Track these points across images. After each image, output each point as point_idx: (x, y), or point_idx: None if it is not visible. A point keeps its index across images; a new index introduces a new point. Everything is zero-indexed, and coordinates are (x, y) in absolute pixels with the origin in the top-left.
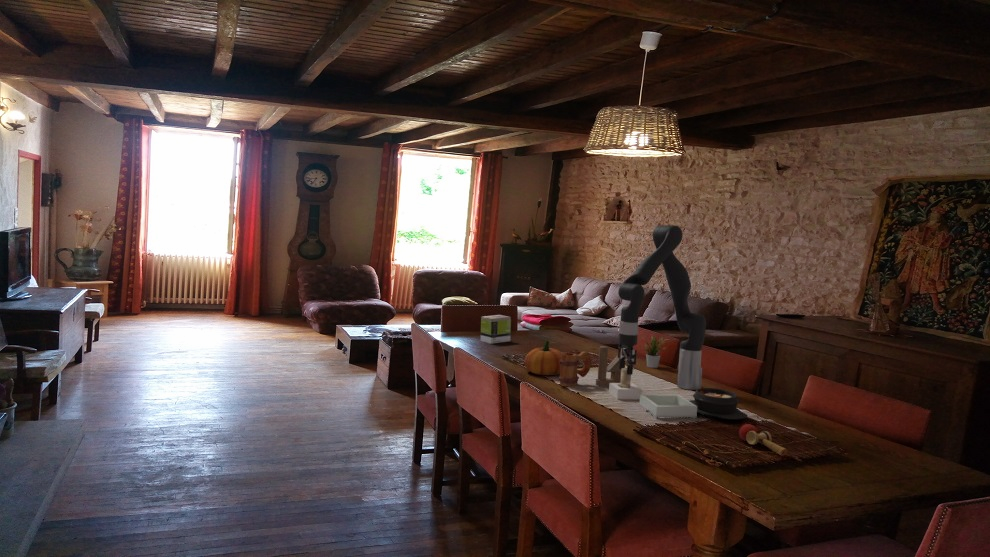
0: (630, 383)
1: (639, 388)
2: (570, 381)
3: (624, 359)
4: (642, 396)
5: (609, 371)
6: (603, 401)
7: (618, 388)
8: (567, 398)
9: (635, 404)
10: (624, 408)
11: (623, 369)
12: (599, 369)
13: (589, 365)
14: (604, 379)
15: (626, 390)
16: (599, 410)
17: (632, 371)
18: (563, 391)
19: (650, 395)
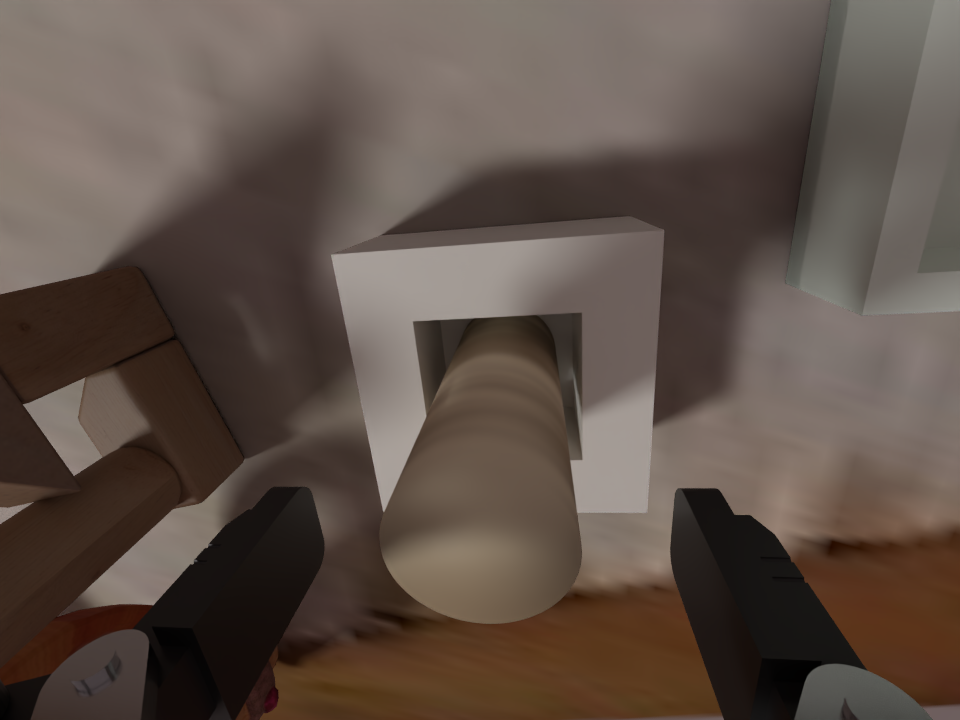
0: (358, 286)
1: (615, 245)
2: (266, 680)
3: (154, 683)
4: (951, 310)
5: (67, 480)
6: (610, 531)
7: (610, 495)
8: (534, 699)
9: (725, 304)
10: (835, 441)
11: (501, 601)
12: (84, 590)
13: (25, 676)
14: (169, 471)
15: (650, 418)
16: (844, 619)
17: (736, 525)
18: (372, 678)
19: (940, 175)
